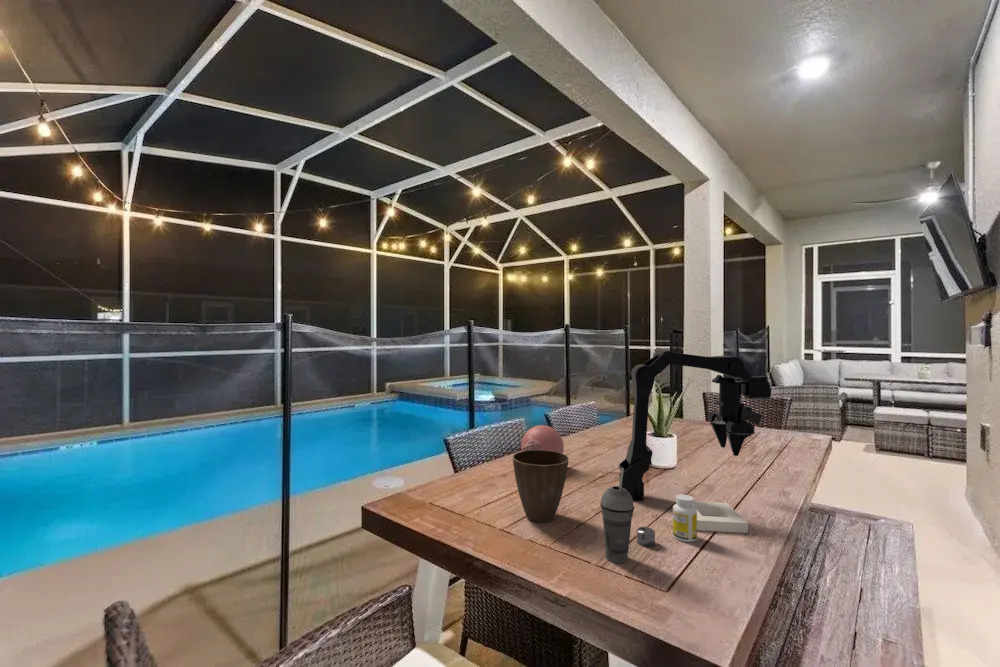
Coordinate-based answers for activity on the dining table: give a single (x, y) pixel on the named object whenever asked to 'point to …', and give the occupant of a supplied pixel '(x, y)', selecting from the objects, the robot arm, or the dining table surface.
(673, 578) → the dining table surface
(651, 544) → the short metal stub
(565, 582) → the dining table surface
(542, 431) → the balloon
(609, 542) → the beverage cup
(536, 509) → the plant pot
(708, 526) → the hole plate
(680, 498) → the supplement bottle
